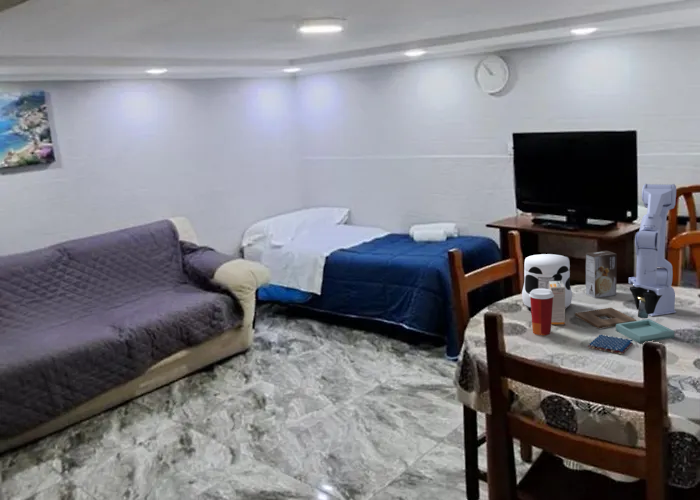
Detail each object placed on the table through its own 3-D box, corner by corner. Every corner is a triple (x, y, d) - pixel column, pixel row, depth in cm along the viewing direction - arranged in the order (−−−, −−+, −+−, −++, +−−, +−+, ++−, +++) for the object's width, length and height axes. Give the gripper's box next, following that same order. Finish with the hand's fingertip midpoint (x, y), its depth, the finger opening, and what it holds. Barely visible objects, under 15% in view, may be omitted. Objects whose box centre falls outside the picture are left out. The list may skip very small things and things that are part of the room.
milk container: (551, 297, 247) (551, 250, 243) (582, 309, 231) (583, 260, 227) (512, 304, 241) (511, 257, 237) (541, 318, 225) (541, 268, 221)
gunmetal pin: (644, 312, 207) (647, 293, 205) (653, 318, 203) (656, 299, 200) (632, 314, 206) (634, 295, 204) (640, 320, 202) (643, 300, 200)
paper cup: (554, 328, 215) (554, 288, 211) (553, 337, 208) (553, 295, 204) (529, 327, 217) (529, 287, 214) (528, 336, 210) (527, 294, 207)
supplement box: (565, 324, 218) (565, 287, 215) (550, 324, 219) (550, 287, 216) (562, 316, 225) (562, 280, 222) (548, 316, 226) (548, 280, 223)
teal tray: (648, 325, 212) (648, 318, 211) (674, 337, 200) (674, 331, 200) (615, 330, 210) (615, 324, 209) (639, 343, 198) (639, 336, 198)
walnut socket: (611, 310, 228) (611, 307, 228) (636, 322, 215) (636, 319, 215) (574, 315, 225) (574, 312, 225) (598, 328, 212) (598, 325, 212)
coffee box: (606, 290, 250) (607, 250, 246) (616, 295, 244) (617, 253, 240) (584, 293, 248) (585, 252, 244) (594, 298, 242) (595, 256, 238)
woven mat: (598, 339, 205) (598, 333, 205) (633, 345, 198) (633, 339, 198) (586, 350, 197) (586, 343, 197) (622, 357, 191) (622, 350, 190)
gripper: (620, 265, 206) (619, 306, 209) (650, 276, 192) (648, 320, 196) (640, 262, 208) (638, 303, 211) (671, 273, 194) (669, 316, 197)
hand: (645, 311), depth 203 cm, fingers closed on gunmetal pin, 4 cm apart
